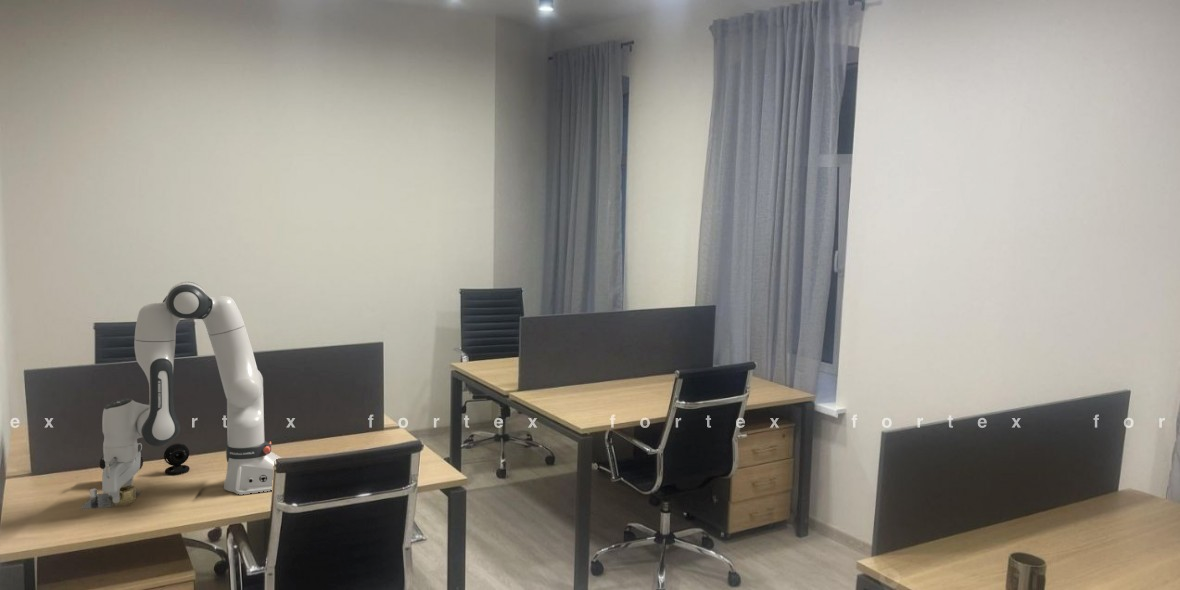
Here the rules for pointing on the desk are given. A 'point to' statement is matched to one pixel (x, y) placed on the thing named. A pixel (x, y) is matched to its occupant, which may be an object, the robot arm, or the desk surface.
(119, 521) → the desk surface
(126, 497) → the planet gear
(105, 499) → the carrier
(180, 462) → the webcam
